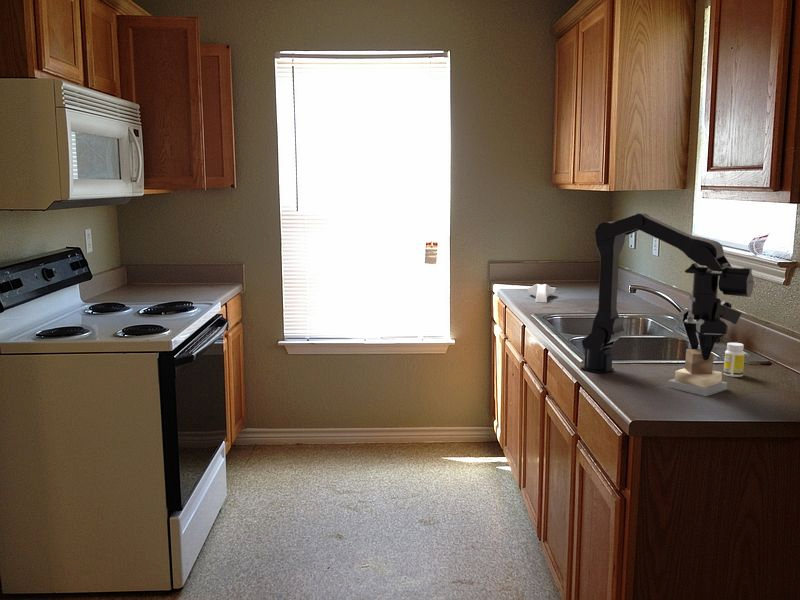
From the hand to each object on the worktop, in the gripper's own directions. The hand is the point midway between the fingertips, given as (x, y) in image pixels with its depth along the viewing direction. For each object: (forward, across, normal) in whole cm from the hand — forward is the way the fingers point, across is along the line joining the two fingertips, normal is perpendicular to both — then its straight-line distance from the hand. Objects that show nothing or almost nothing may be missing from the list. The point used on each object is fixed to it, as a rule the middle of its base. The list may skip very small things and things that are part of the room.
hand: (699, 355), depth 188 cm
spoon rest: (+9, +138, +26) cm, 140 cm away
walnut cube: (+4, 0, 0) cm, 4 cm away
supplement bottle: (+8, +15, -13) cm, 22 cm away
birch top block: (+7, 0, 0) cm, 7 cm away
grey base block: (+9, 0, 0) cm, 9 cm away
